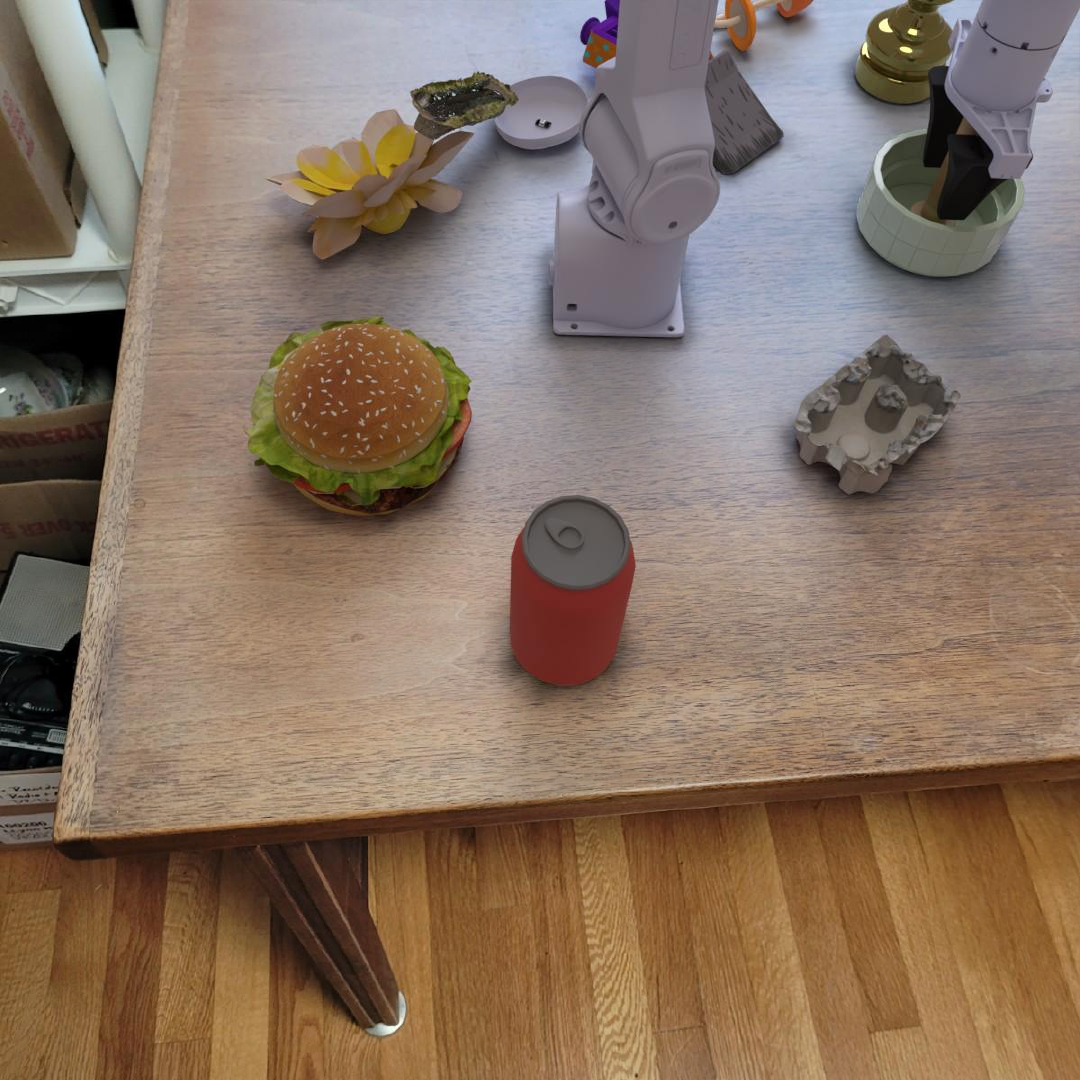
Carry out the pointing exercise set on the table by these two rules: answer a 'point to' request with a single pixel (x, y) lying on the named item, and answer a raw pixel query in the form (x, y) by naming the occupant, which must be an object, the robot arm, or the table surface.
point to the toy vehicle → (728, 95)
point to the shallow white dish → (542, 112)
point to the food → (360, 416)
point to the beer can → (570, 589)
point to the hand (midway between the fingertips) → (943, 190)
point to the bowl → (916, 238)
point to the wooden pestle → (940, 185)
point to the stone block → (459, 103)
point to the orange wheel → (752, 17)
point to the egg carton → (872, 415)
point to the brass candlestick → (904, 51)
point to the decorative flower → (371, 181)
